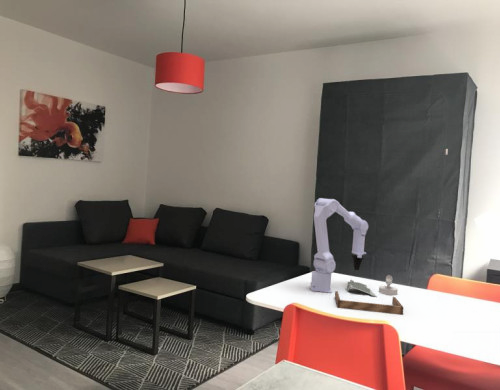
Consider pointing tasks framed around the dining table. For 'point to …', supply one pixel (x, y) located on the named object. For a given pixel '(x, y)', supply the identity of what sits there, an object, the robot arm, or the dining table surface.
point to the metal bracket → (359, 287)
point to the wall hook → (388, 287)
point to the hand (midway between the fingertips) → (356, 269)
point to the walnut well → (370, 305)
